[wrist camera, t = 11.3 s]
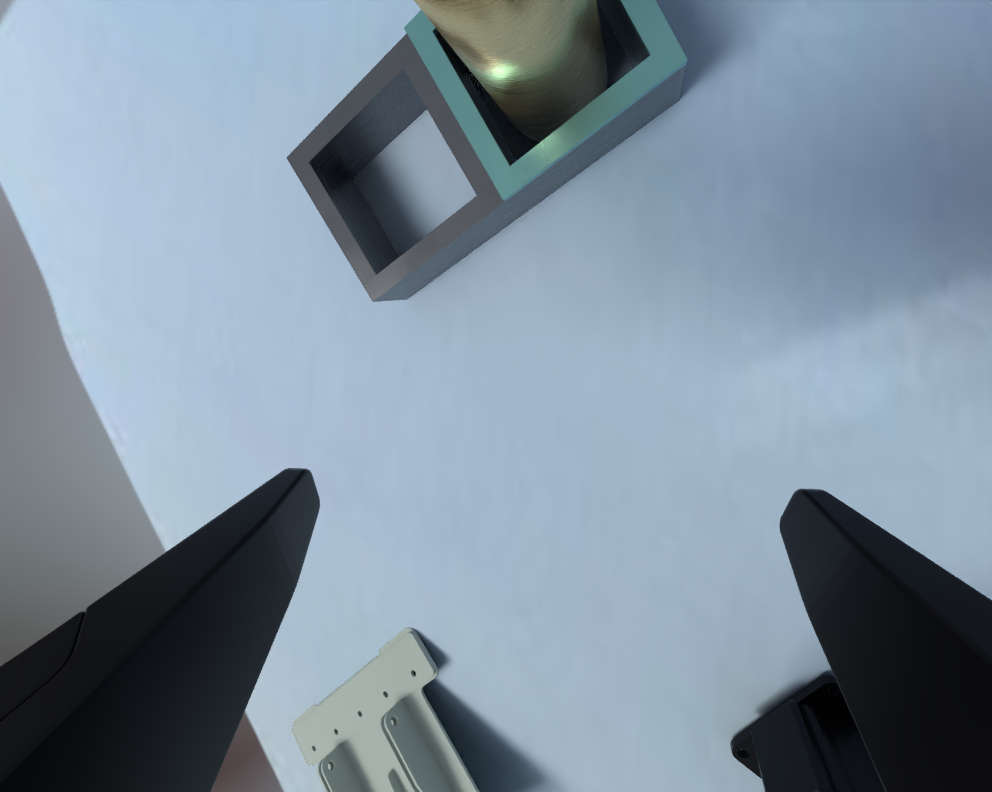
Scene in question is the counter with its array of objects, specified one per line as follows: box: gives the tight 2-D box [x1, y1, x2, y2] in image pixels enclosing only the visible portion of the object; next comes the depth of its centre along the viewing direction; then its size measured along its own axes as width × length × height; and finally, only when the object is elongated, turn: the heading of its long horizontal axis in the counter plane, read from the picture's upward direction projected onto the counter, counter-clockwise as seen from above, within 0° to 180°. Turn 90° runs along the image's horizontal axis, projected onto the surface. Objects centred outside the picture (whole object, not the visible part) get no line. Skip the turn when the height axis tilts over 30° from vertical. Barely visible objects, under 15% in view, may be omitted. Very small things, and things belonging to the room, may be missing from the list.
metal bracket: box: [292, 628, 480, 792], centre depth 29 cm, size 14×6×15 cm
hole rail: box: [287, 0, 688, 302], centre depth 18 cm, size 14×7×3 cm, turn 122°
